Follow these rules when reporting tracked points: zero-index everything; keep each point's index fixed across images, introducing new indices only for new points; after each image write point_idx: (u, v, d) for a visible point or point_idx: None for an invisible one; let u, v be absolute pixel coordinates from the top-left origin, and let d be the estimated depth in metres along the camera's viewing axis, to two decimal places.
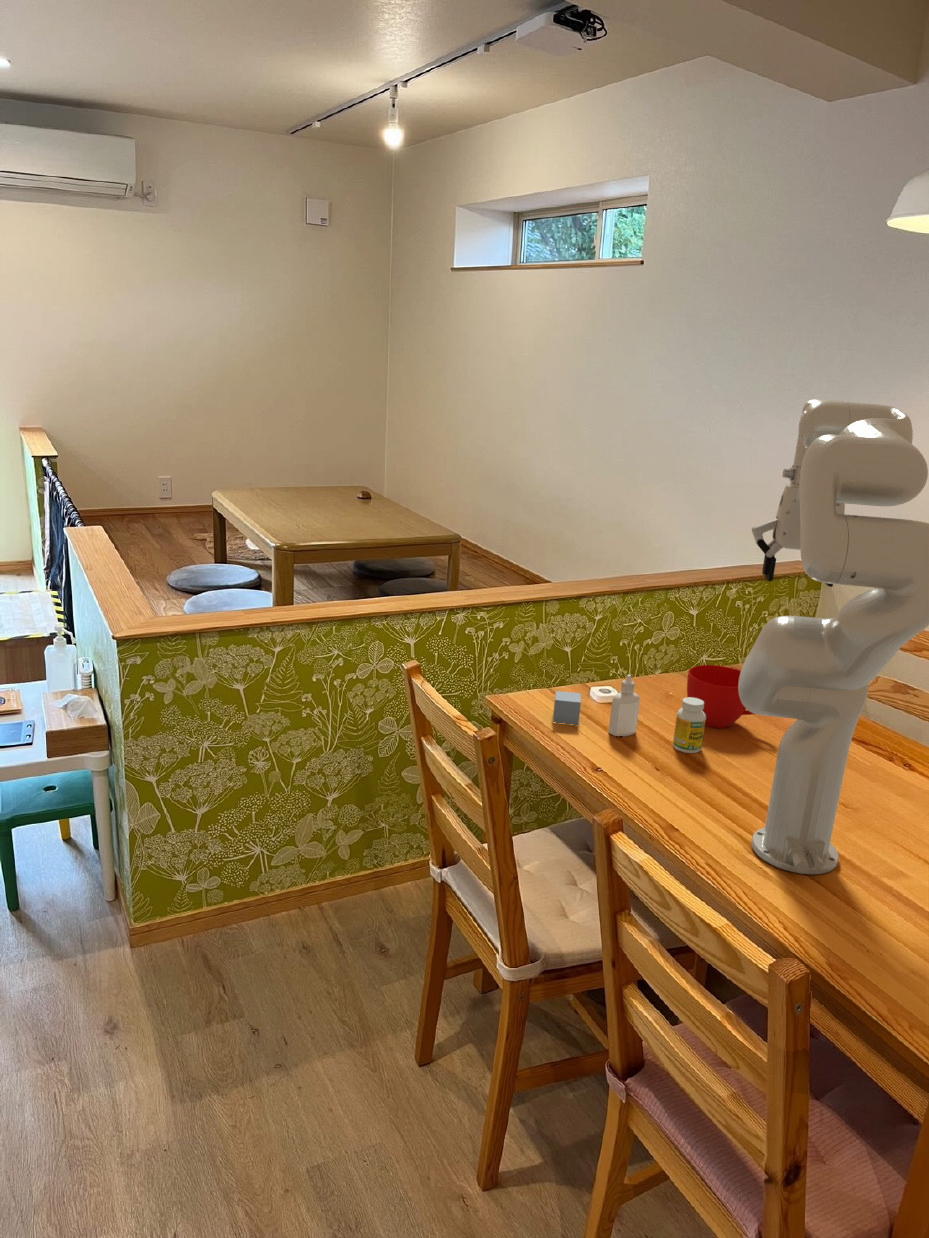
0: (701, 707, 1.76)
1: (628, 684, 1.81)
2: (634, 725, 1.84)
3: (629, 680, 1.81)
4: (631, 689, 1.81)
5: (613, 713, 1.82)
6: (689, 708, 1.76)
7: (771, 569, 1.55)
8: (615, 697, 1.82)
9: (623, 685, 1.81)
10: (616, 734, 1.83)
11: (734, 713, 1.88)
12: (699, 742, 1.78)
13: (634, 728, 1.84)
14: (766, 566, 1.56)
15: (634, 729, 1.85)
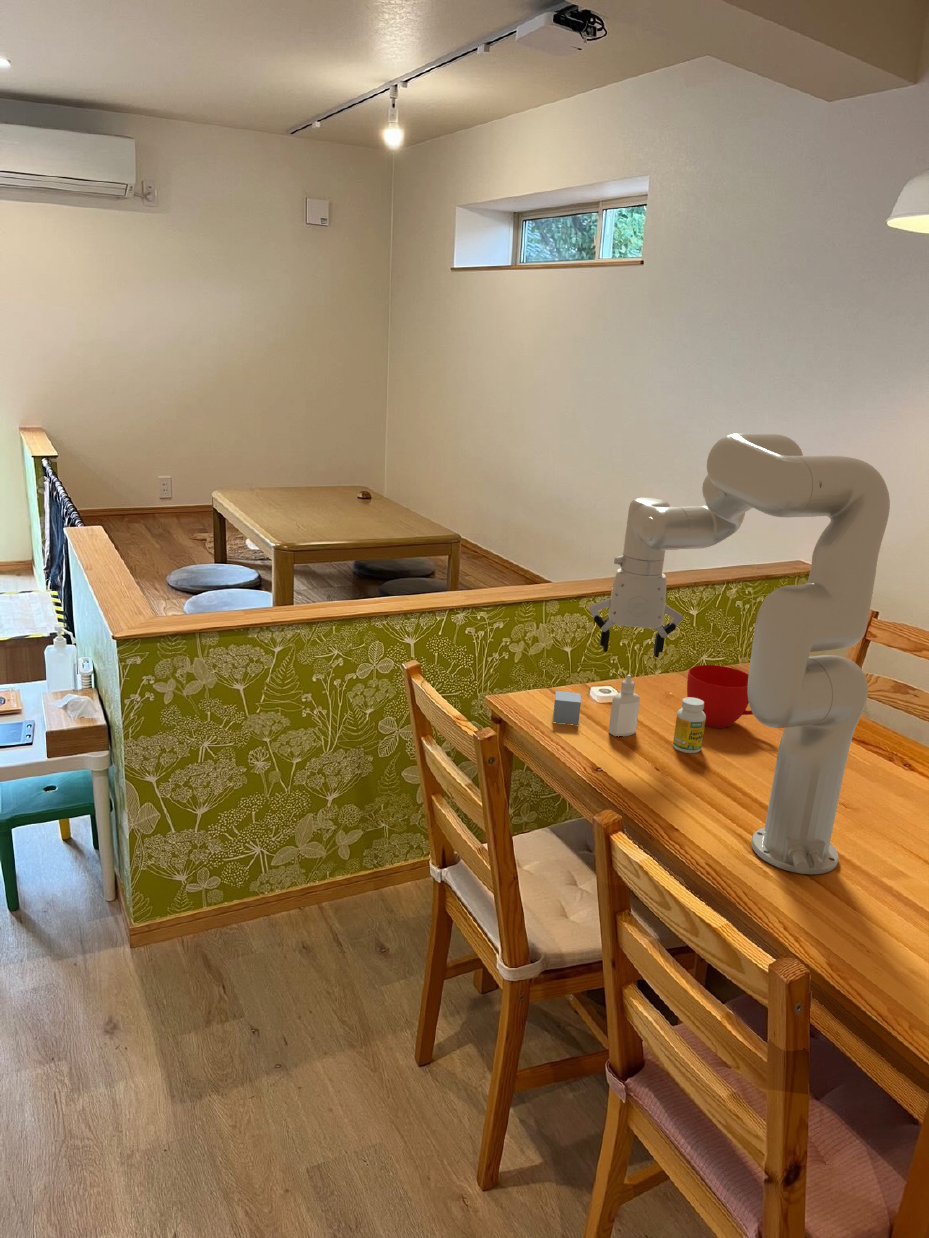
0: (701, 707, 1.76)
1: (628, 684, 1.81)
2: (634, 725, 1.84)
3: (629, 680, 1.81)
4: (631, 689, 1.81)
5: (613, 713, 1.82)
6: (689, 708, 1.76)
7: (605, 642, 1.79)
8: (615, 697, 1.82)
9: (623, 685, 1.82)
10: (616, 734, 1.83)
11: (734, 713, 1.88)
12: (699, 742, 1.78)
13: (634, 728, 1.84)
14: (602, 639, 1.80)
15: (634, 729, 1.85)
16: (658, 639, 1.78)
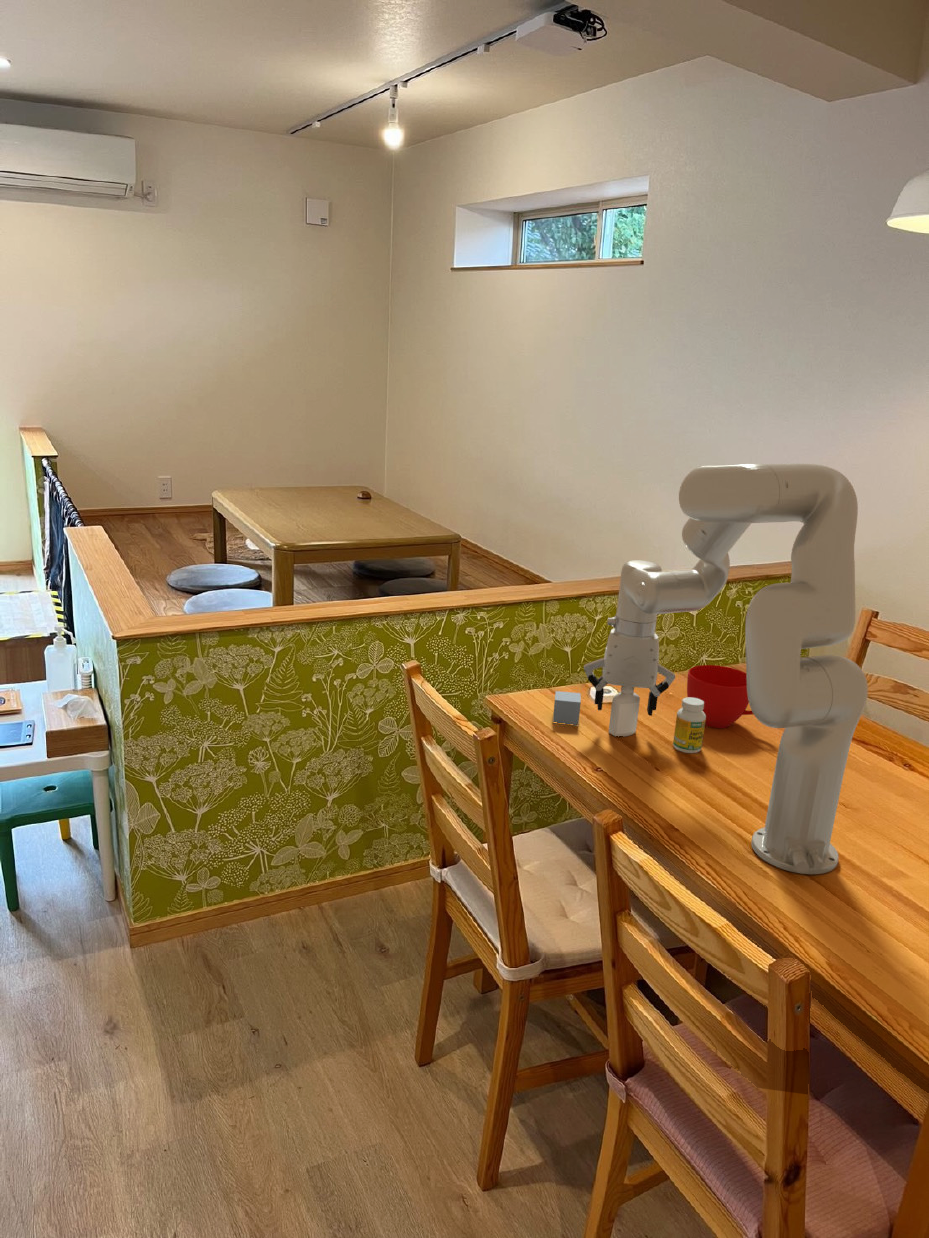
0: (701, 707, 1.76)
1: None
2: (634, 725, 1.84)
3: None
4: (631, 689, 1.81)
5: (613, 713, 1.82)
6: (689, 708, 1.76)
7: (600, 700, 1.82)
8: (615, 697, 1.82)
9: None
10: (616, 734, 1.83)
11: (734, 713, 1.88)
12: (699, 742, 1.78)
13: (634, 728, 1.84)
14: (596, 697, 1.83)
15: (634, 729, 1.85)
16: (651, 698, 1.81)
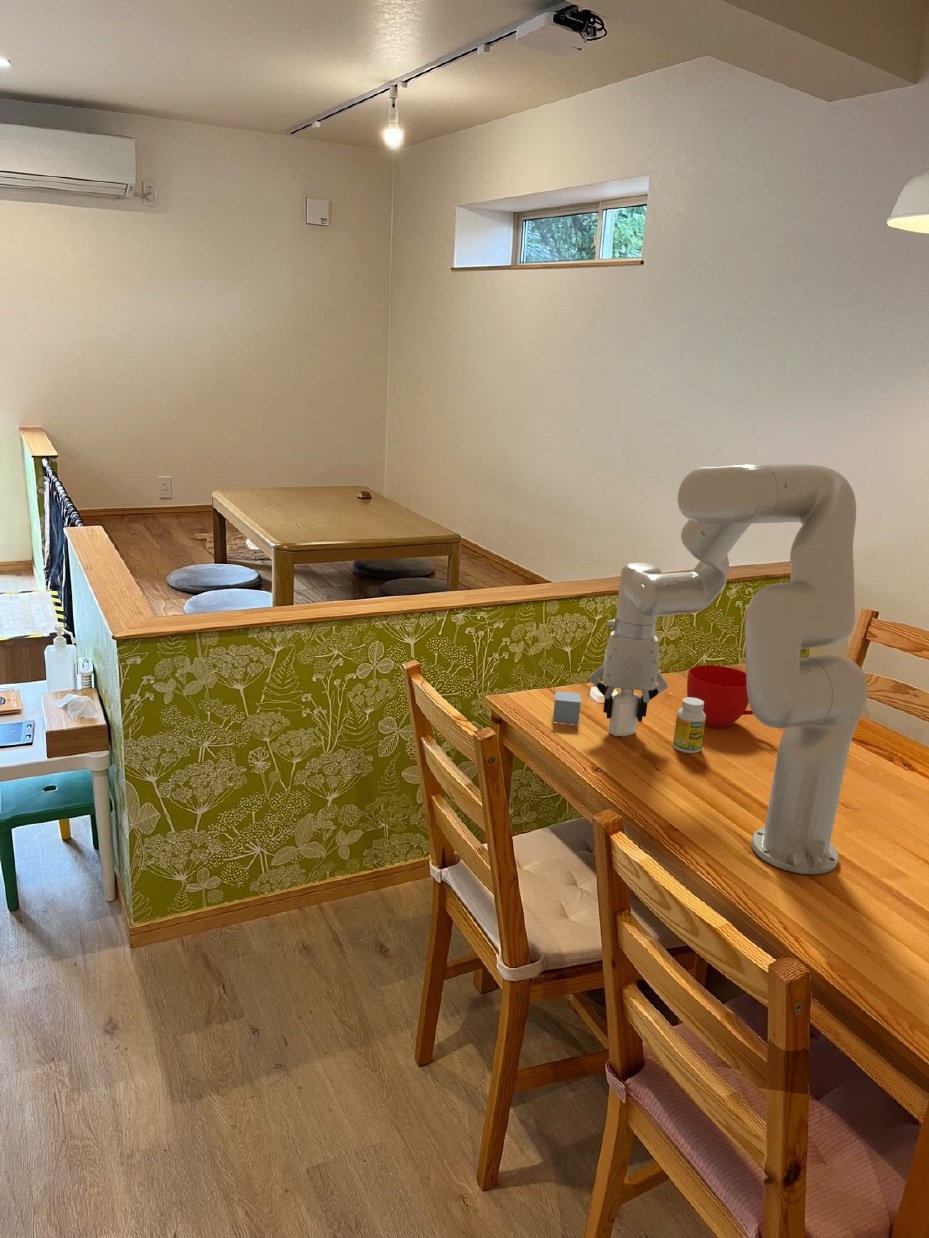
0: (701, 707, 1.76)
1: None
2: (634, 724, 1.84)
3: None
4: (631, 689, 1.81)
5: (613, 713, 1.82)
6: (689, 708, 1.76)
7: (609, 709, 1.82)
8: (615, 697, 1.82)
9: None
10: (616, 734, 1.83)
11: (734, 713, 1.88)
12: (699, 742, 1.78)
13: (634, 728, 1.84)
14: (605, 705, 1.83)
15: (634, 729, 1.85)
16: (641, 704, 1.81)
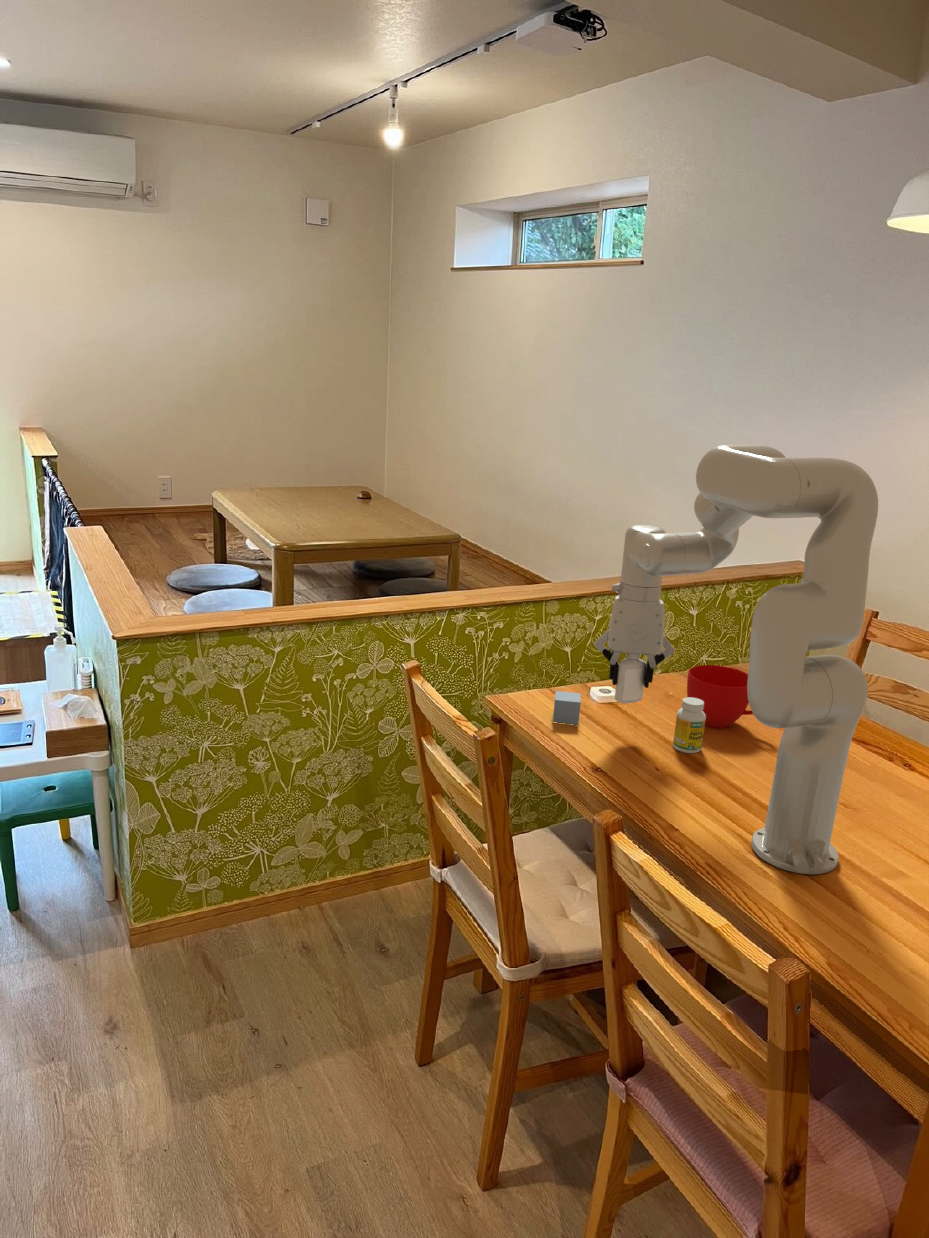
0: (701, 707, 1.76)
1: None
2: (641, 691, 1.81)
3: None
4: (637, 654, 1.79)
5: (619, 679, 1.80)
6: (689, 708, 1.76)
7: (614, 675, 1.80)
8: (621, 663, 1.79)
9: None
10: (622, 701, 1.80)
11: (734, 713, 1.88)
12: (699, 742, 1.78)
13: (640, 695, 1.82)
14: (611, 672, 1.80)
15: (640, 696, 1.82)
16: (647, 669, 1.79)
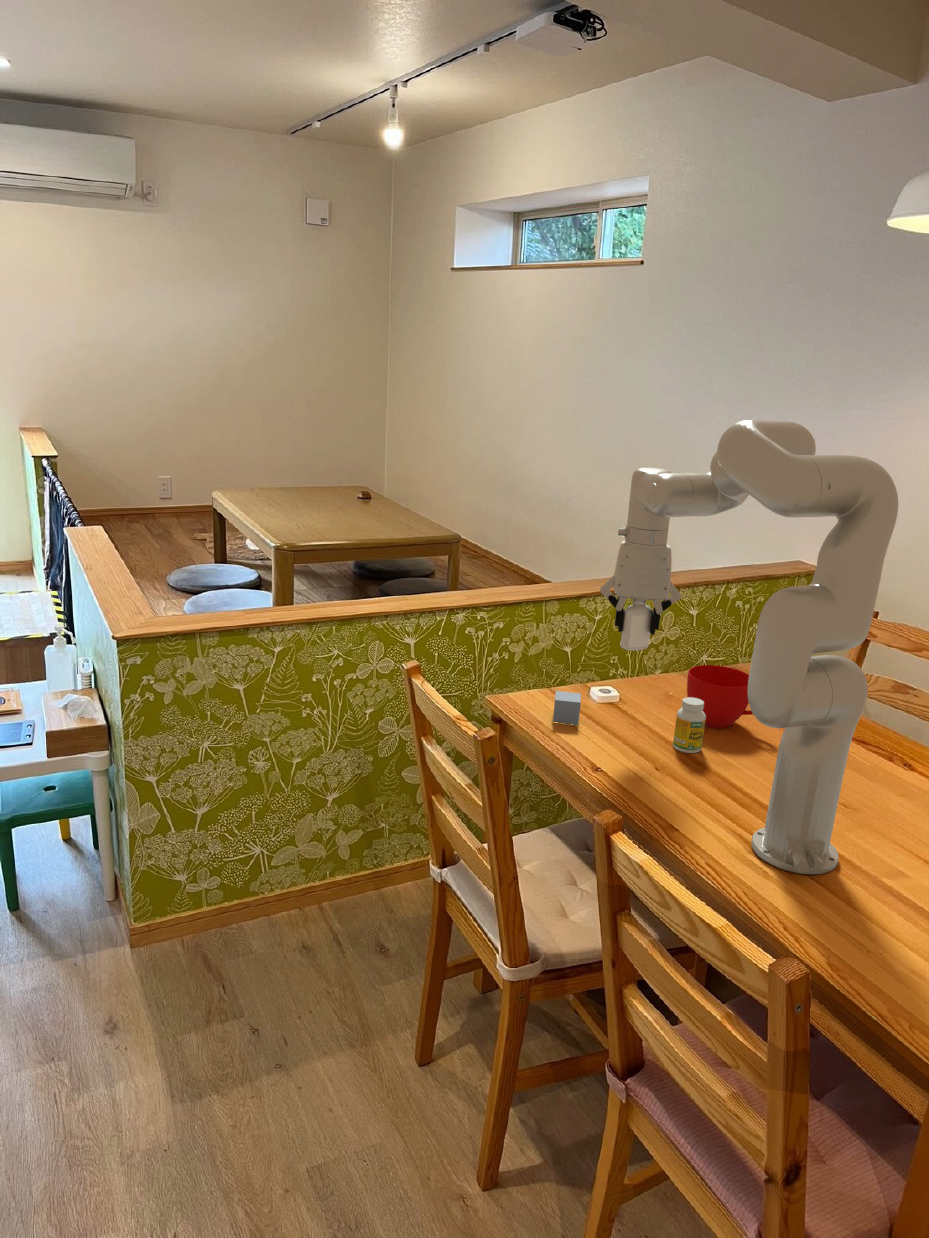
0: (701, 707, 1.76)
1: None
2: (647, 638, 1.79)
3: None
4: (643, 600, 1.76)
5: (625, 626, 1.77)
6: (689, 708, 1.76)
7: (620, 621, 1.77)
8: (627, 609, 1.76)
9: None
10: (628, 648, 1.77)
11: (734, 713, 1.88)
12: (699, 742, 1.78)
13: (647, 642, 1.79)
14: (616, 618, 1.78)
15: (647, 643, 1.79)
16: (654, 616, 1.76)
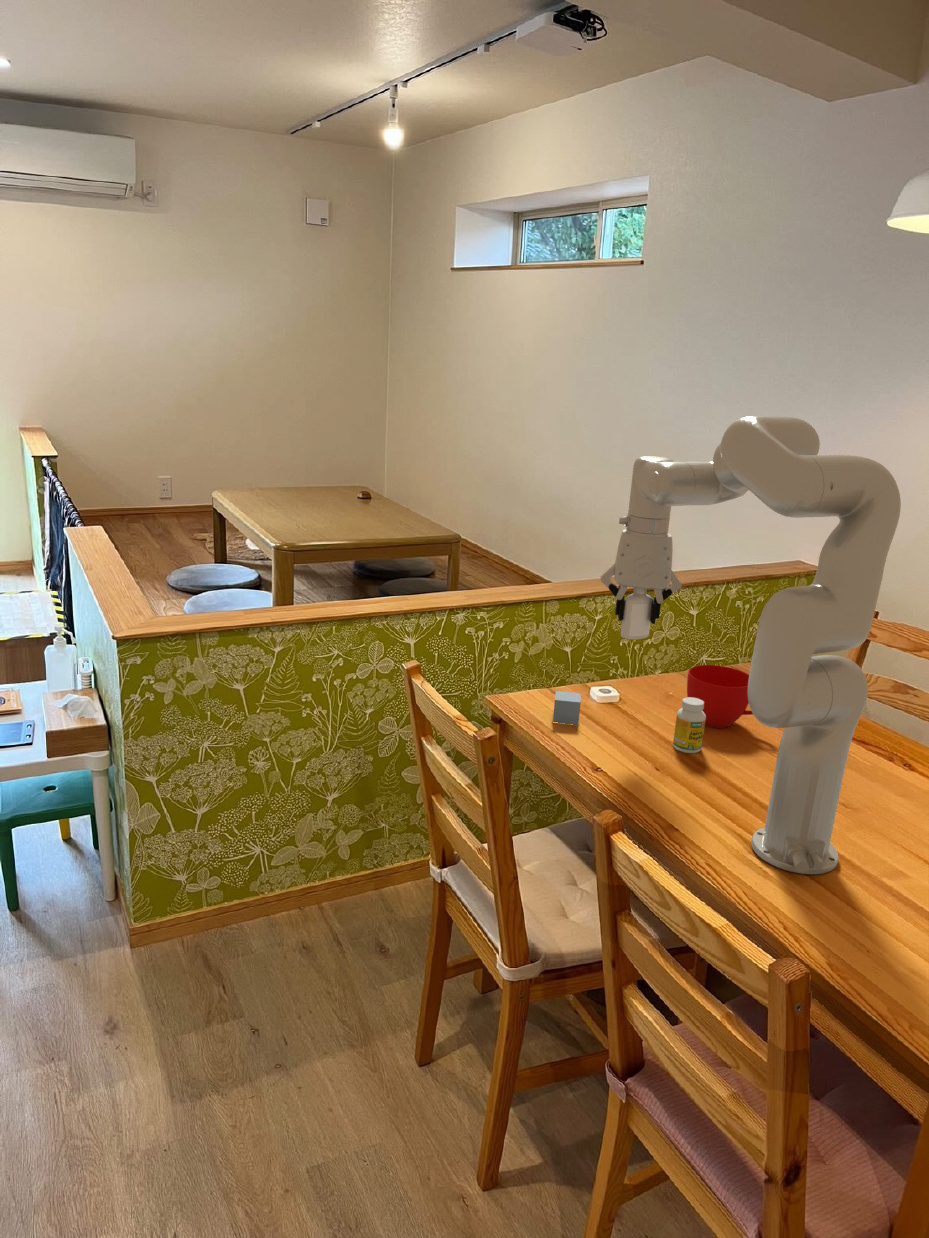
0: (701, 707, 1.76)
1: None
2: (647, 627, 1.78)
3: None
4: (644, 589, 1.75)
5: (625, 615, 1.77)
6: (689, 708, 1.76)
7: (621, 610, 1.76)
8: (627, 598, 1.76)
9: None
10: (628, 636, 1.77)
11: (734, 713, 1.88)
12: (699, 742, 1.78)
13: (647, 631, 1.79)
14: (617, 607, 1.77)
15: (647, 632, 1.79)
16: (654, 605, 1.75)
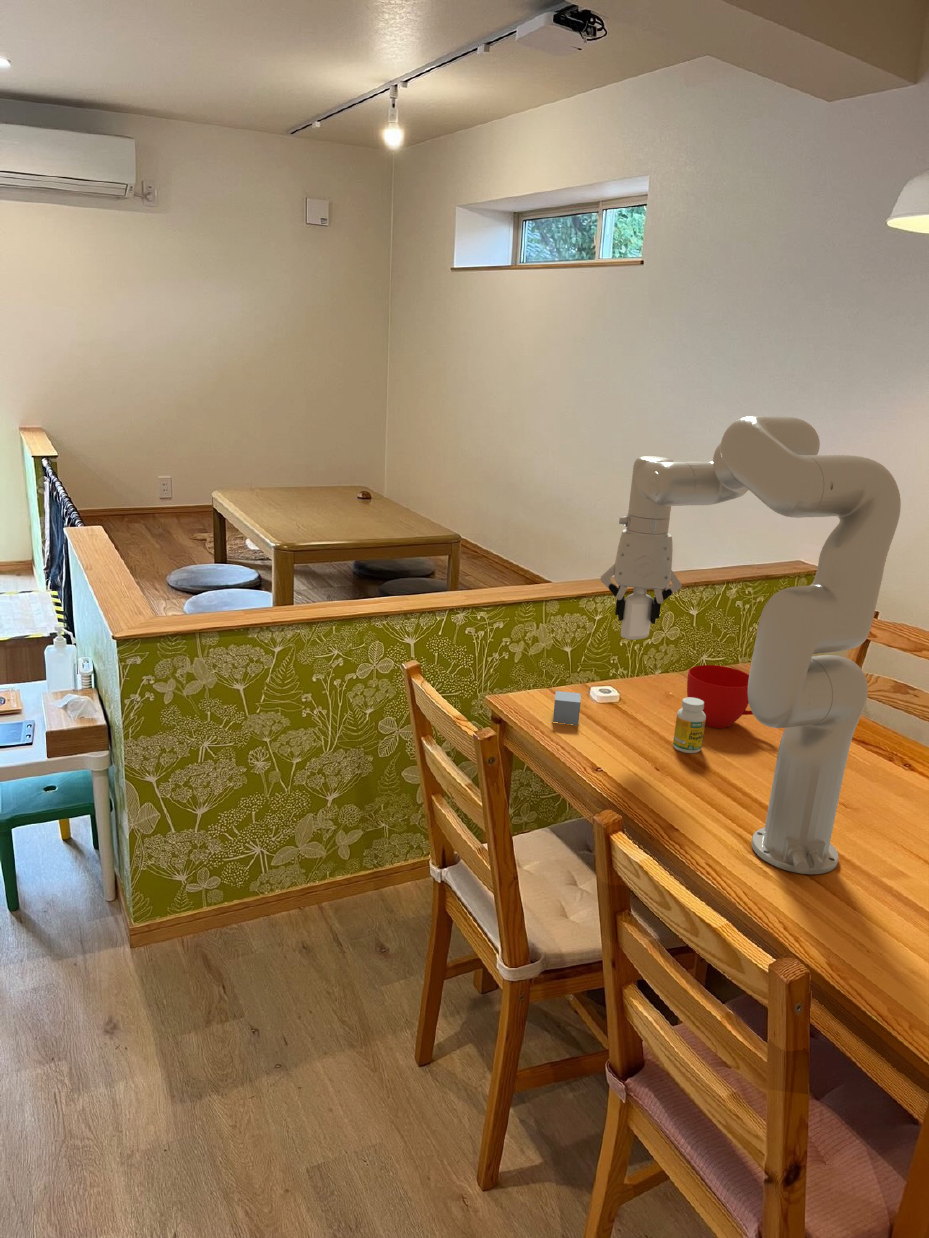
0: (701, 707, 1.76)
1: None
2: (647, 627, 1.78)
3: None
4: (644, 589, 1.75)
5: (625, 615, 1.77)
6: (689, 708, 1.76)
7: (621, 610, 1.76)
8: (627, 598, 1.76)
9: None
10: (628, 636, 1.77)
11: (734, 713, 1.88)
12: (699, 742, 1.78)
13: (647, 631, 1.79)
14: (617, 607, 1.77)
15: (647, 632, 1.79)
16: (654, 605, 1.75)
